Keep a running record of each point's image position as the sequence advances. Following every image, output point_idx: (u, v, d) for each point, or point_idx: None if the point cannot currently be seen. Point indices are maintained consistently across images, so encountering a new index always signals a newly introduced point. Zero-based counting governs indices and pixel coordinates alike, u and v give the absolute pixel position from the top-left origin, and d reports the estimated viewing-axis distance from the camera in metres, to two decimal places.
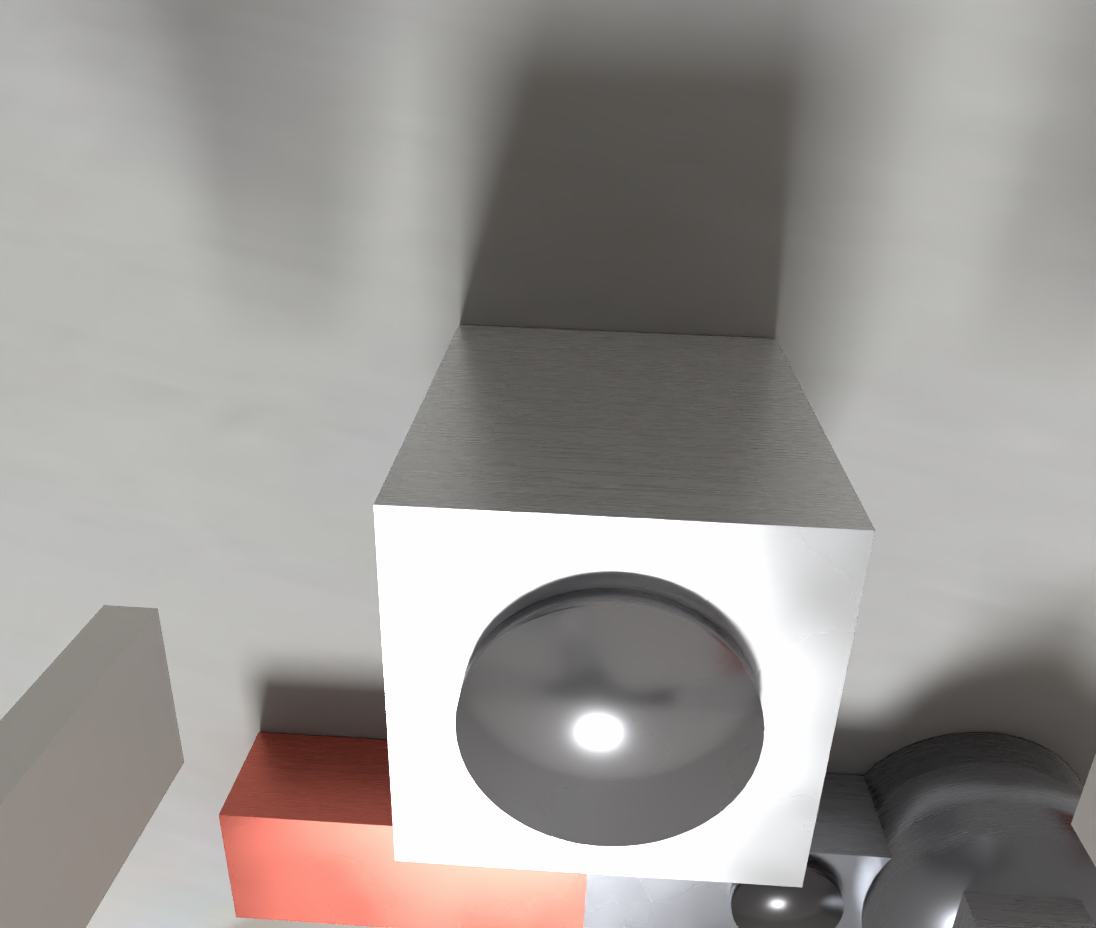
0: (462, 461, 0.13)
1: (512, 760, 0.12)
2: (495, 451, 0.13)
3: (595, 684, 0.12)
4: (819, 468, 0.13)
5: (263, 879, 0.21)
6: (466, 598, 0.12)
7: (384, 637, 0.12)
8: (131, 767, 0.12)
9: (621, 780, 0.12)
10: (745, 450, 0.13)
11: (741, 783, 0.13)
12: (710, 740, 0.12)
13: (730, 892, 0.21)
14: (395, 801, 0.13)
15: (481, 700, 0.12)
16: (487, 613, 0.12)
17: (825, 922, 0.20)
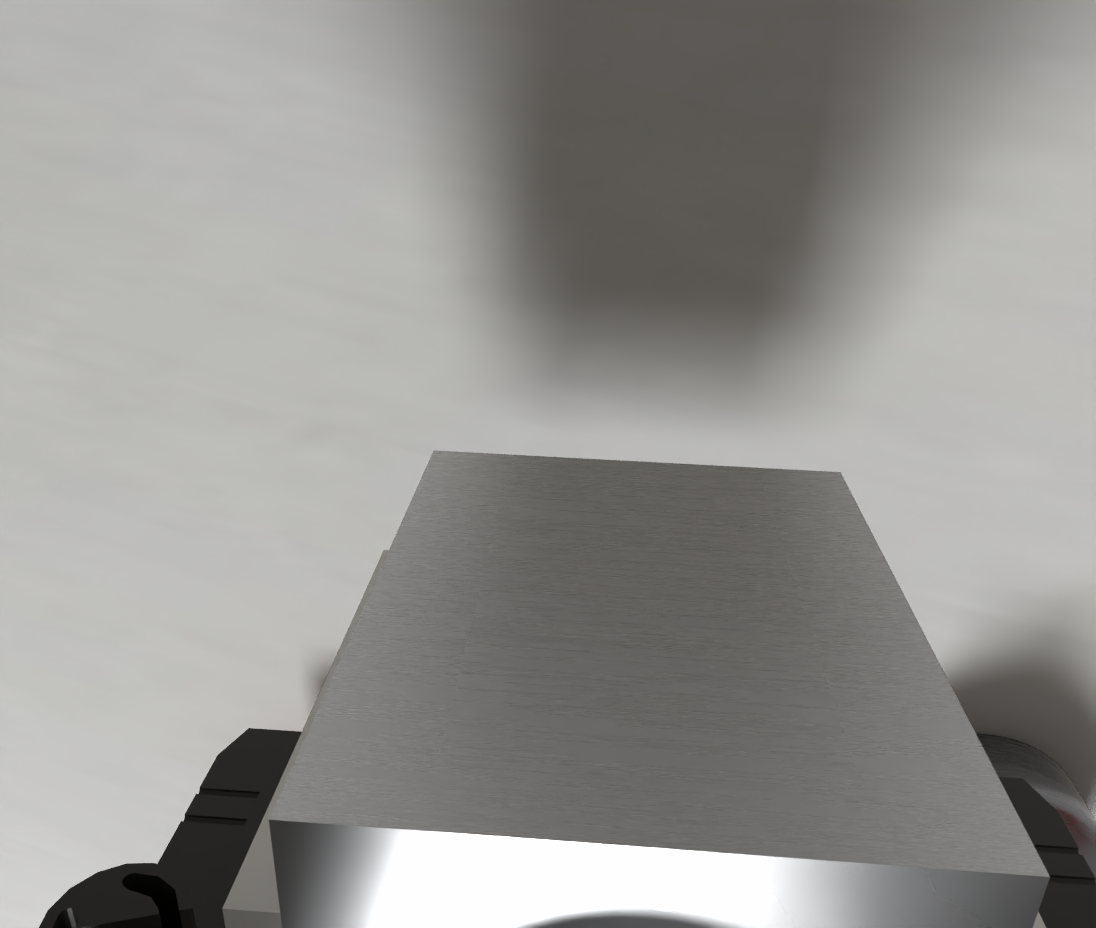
0: (415, 716, 0.09)
1: None
2: (464, 694, 0.09)
3: None
4: (940, 729, 0.09)
5: None
6: None
7: None
8: None
9: None
10: (825, 689, 0.09)
11: None
12: None
13: None
14: None
15: None
16: None
17: None
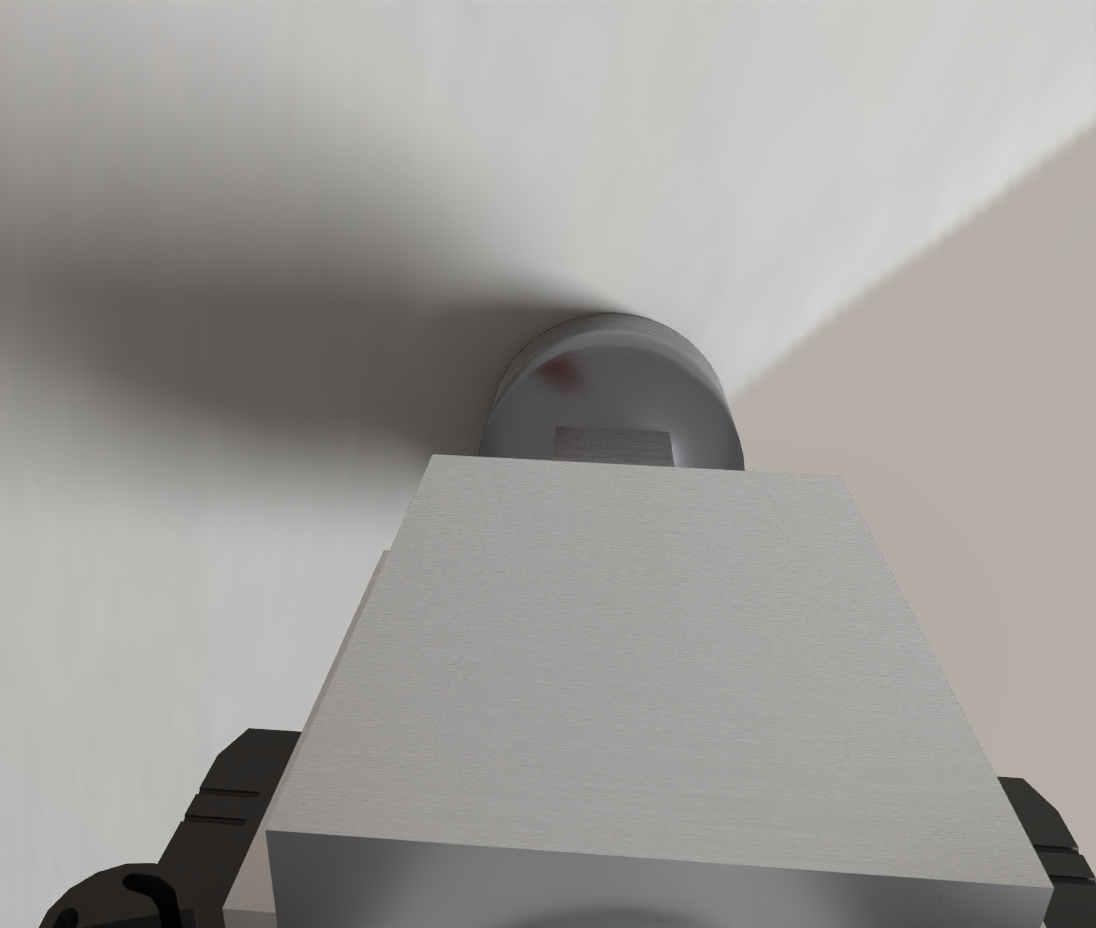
0: (412, 724, 0.08)
1: None
2: (463, 701, 0.09)
3: None
4: (941, 738, 0.09)
5: None
6: None
7: None
8: None
9: None
10: (826, 697, 0.09)
11: None
12: None
13: None
14: None
15: None
16: None
17: None
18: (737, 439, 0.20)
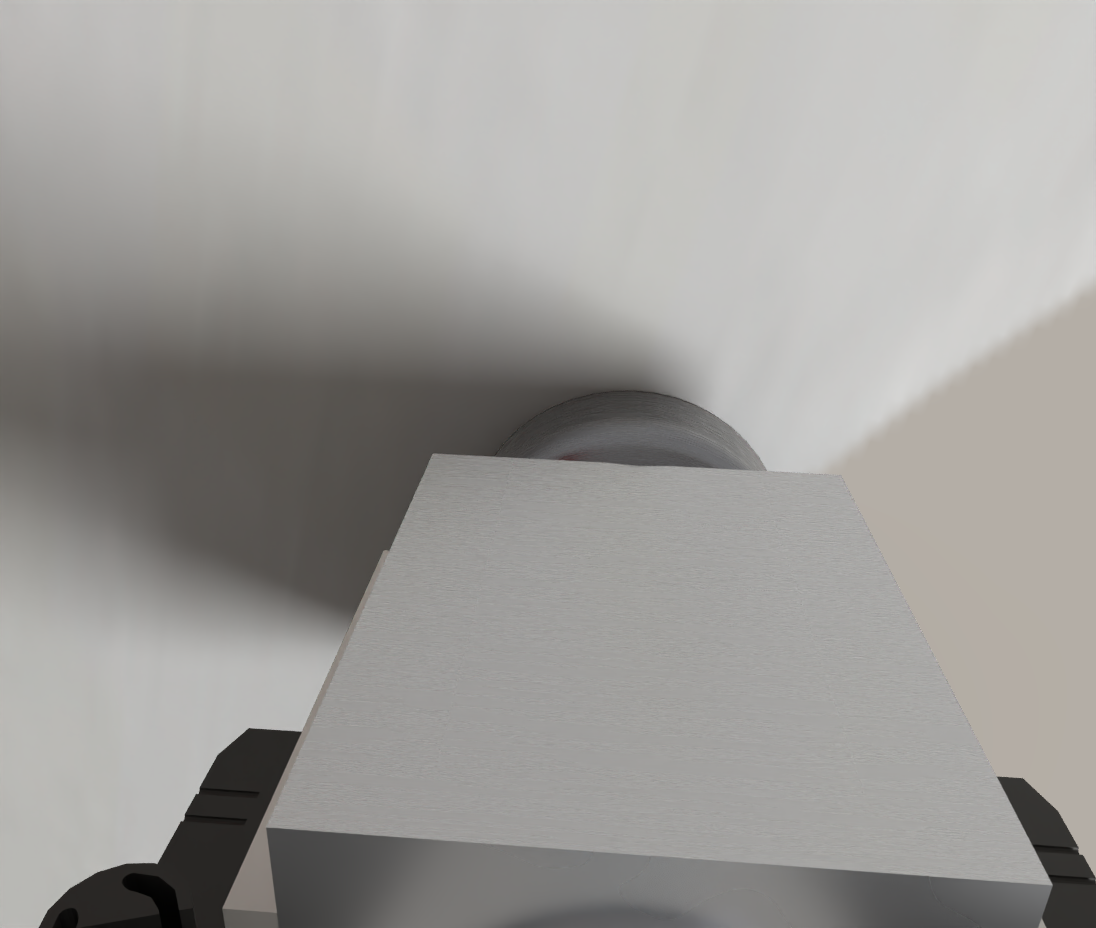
0: (414, 722, 0.08)
1: None
2: (463, 700, 0.09)
3: None
4: (941, 735, 0.09)
5: None
6: None
7: None
8: None
9: None
10: (826, 694, 0.09)
11: None
12: None
13: None
14: None
15: None
16: None
17: None
18: None
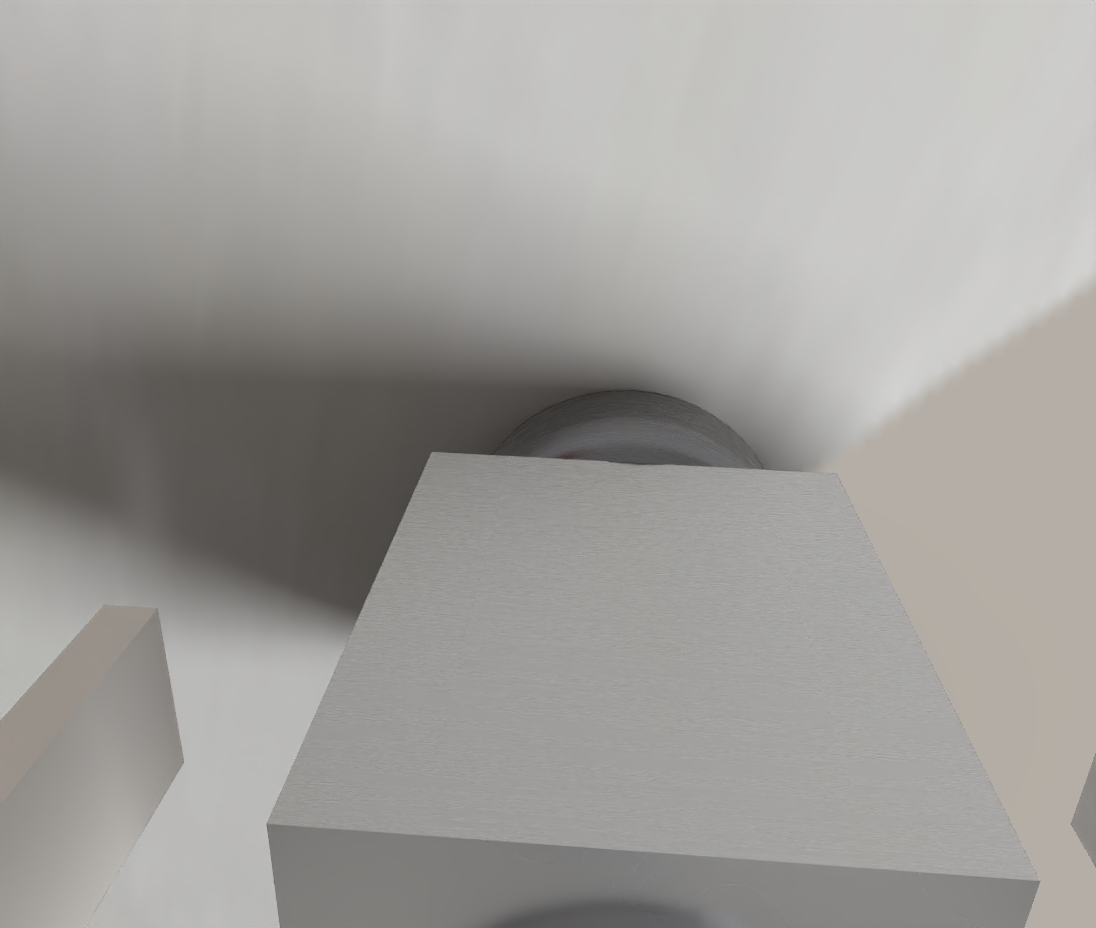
0: (411, 718, 0.09)
1: None
2: (461, 697, 0.09)
3: None
4: (932, 733, 0.09)
5: None
6: None
7: None
8: (131, 767, 0.12)
9: None
10: (819, 693, 0.09)
11: None
12: None
13: None
14: None
15: None
16: None
17: None
18: None
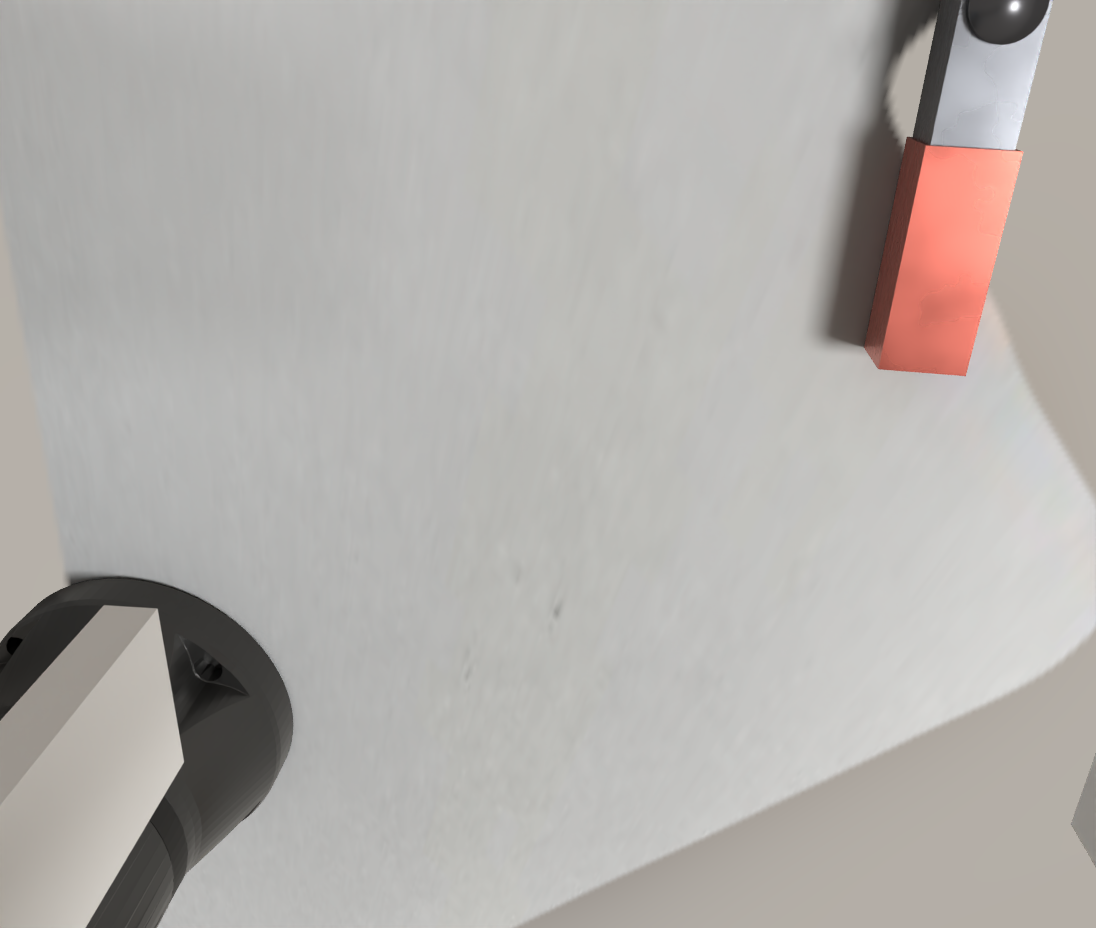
0: None
1: None
2: None
3: None
4: None
5: (934, 353, 0.35)
6: None
7: None
8: (131, 767, 0.12)
9: None
10: None
11: None
12: None
13: (996, 44, 0.30)
14: None
15: None
16: None
17: None
18: None
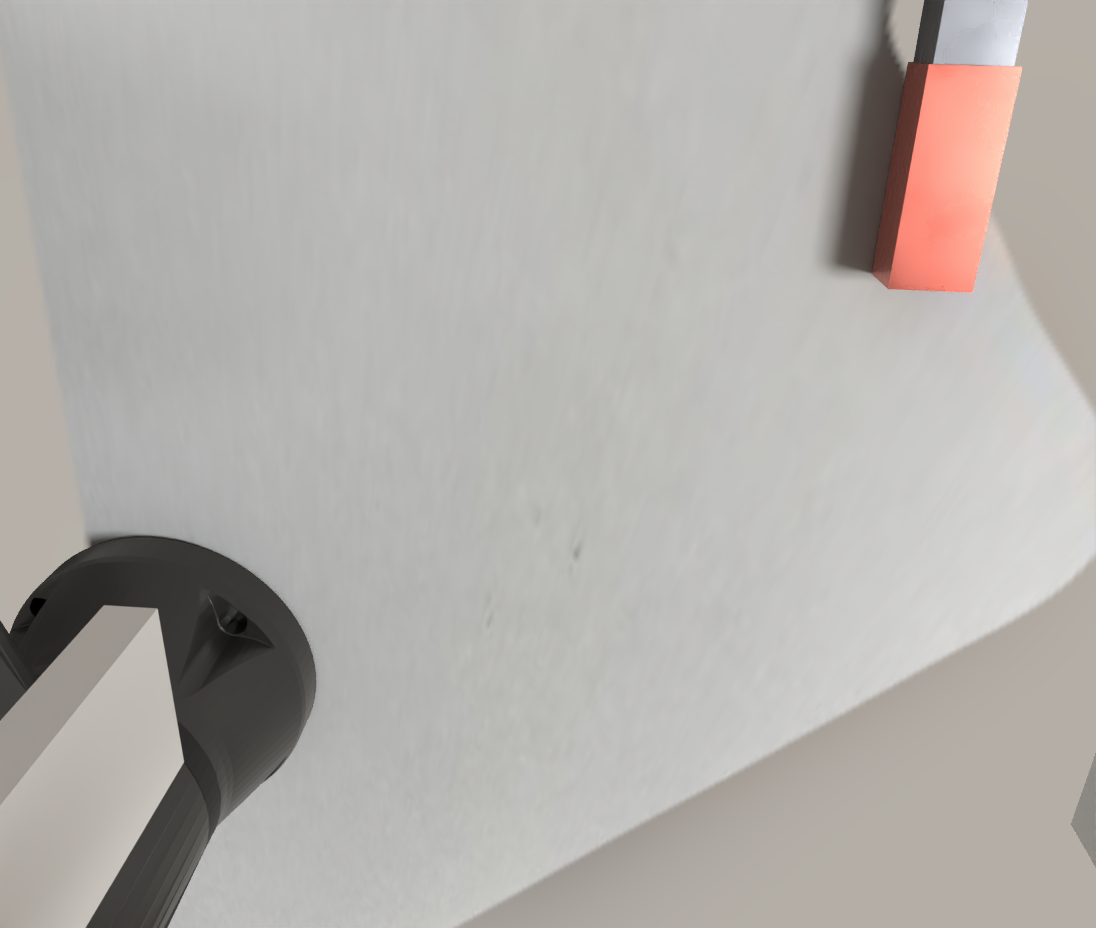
0: None
1: None
2: None
3: None
4: None
5: (942, 270, 0.36)
6: None
7: None
8: (131, 767, 0.12)
9: None
10: None
11: None
12: None
13: None
14: None
15: None
16: None
17: None
18: None
